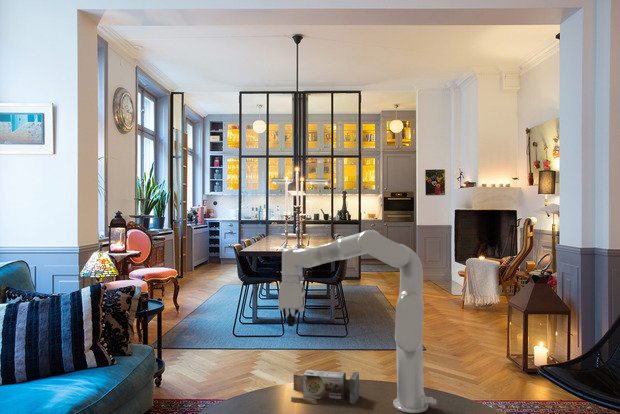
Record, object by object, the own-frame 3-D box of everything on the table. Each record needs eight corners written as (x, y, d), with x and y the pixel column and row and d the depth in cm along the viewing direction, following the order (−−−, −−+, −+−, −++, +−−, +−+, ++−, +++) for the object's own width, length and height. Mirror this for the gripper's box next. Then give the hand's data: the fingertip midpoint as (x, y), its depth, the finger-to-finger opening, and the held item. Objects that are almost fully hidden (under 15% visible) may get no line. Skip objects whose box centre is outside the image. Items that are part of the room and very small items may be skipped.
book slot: (359, 395, 165) (358, 372, 165) (353, 408, 153) (352, 383, 153) (294, 388, 172) (294, 366, 173) (283, 400, 160) (283, 376, 161)
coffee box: (306, 392, 168) (346, 395, 165) (302, 398, 162) (344, 402, 159) (306, 369, 169) (346, 372, 166) (303, 374, 163) (344, 377, 159)
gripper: (311, 279, 170) (311, 324, 169) (277, 278, 175) (277, 322, 173) (306, 281, 163) (306, 328, 162) (270, 280, 167) (270, 326, 166)
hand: (291, 325), depth 168 cm, fingers closed
